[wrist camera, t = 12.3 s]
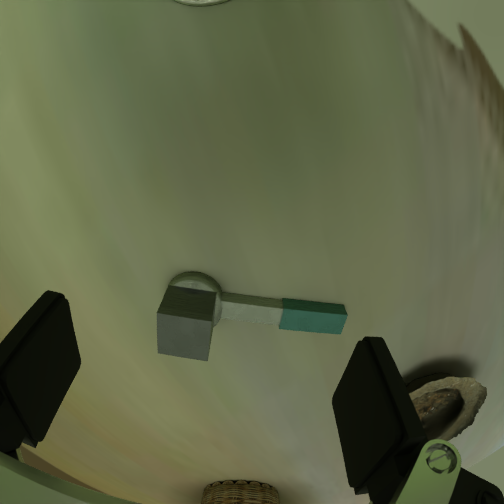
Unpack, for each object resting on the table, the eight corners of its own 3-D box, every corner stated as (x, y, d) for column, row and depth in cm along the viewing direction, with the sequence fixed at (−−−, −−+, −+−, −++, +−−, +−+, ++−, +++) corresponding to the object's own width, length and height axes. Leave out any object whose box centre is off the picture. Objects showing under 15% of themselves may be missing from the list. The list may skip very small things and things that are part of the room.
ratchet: (167, 267, 42) (153, 297, 36) (347, 291, 44) (362, 322, 37) (166, 315, 46) (154, 348, 39) (332, 335, 47) (342, 368, 40)
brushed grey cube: (168, 284, 40) (156, 312, 34) (217, 292, 40) (211, 321, 35) (168, 323, 43) (157, 353, 37) (212, 330, 43) (207, 361, 37)
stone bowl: (455, 413, 59) (466, 441, 51) (360, 435, 63) (365, 468, 54) (483, 341, 49) (503, 373, 40) (367, 368, 52) (377, 407, 44)
